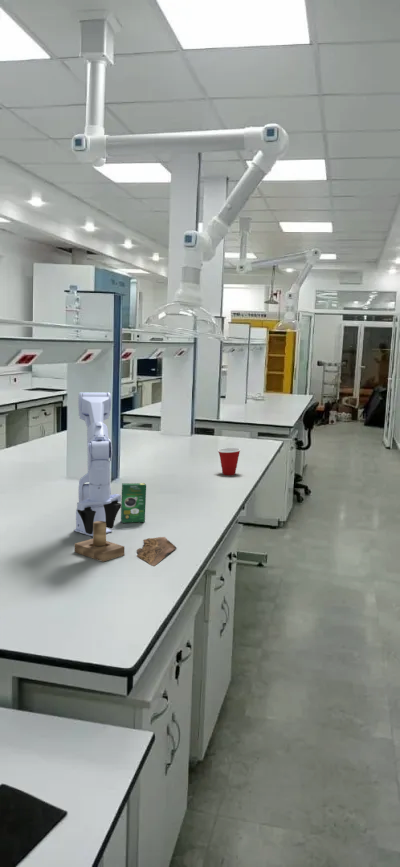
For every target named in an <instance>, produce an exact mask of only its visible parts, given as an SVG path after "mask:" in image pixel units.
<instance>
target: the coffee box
mask: <svg viewBox="0 0 400 867" xmlns="http://www.w3.org/2000/svg"><path fill="white" fill-rule="evenodd" d="M146 501H147V484H146V483H144V482H143V483H142V482H137V483H136V482H135V483H133V482H131V483H128V482H127V483H125V482H124V483H121V502H120V503H121V508H120V522H121V524H122V523H123V524H124V523H125V524H128V523H145V522H146Z"/></svg>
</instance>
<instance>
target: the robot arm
mask: <svg viewBox="0 0 400 867" xmlns="http://www.w3.org/2000/svg"><path fill="white" fill-rule="evenodd" d="M77 399H78V400H77V401H78V402H77V406H78V416H79V419H80V420H83V421H84V422H85V426H86V429H87V430H86V437H87V438H86V440H87V441H86V446H87V449H86V450H87V451H86V452H87V453H86V454H87V461H86V462H87V473H85V474H84V475H83V476H82V477H80V479H79V480H78V502H76V509H75V510H76V511H75V528H73V531H74V532H76V533H80V534H83V535H87V536H89V537H93V522H96V521H104V522H106V534H109V533H111V532H112V531H113V530H112V529H114V528H113V527H114V525H115V521H116V517H117V515H118V513H119V510H121V498H122V494H118V493H115V494H114V493H113V494H112V487H111V462H112V459H113V458H112V457H113V445H112V440H111V439H110V438H109V427H108V426H107V424H106V423H104V421H105V420H107V419H109V416H110V415H111V410H112V393H110V392H109V391H107V392H102V391H101V392H96V391H95V392H93V391H92V392H91V391H90V392H85V391H84V392H83V391H80V392H79V393H78V397H77Z"/></svg>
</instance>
